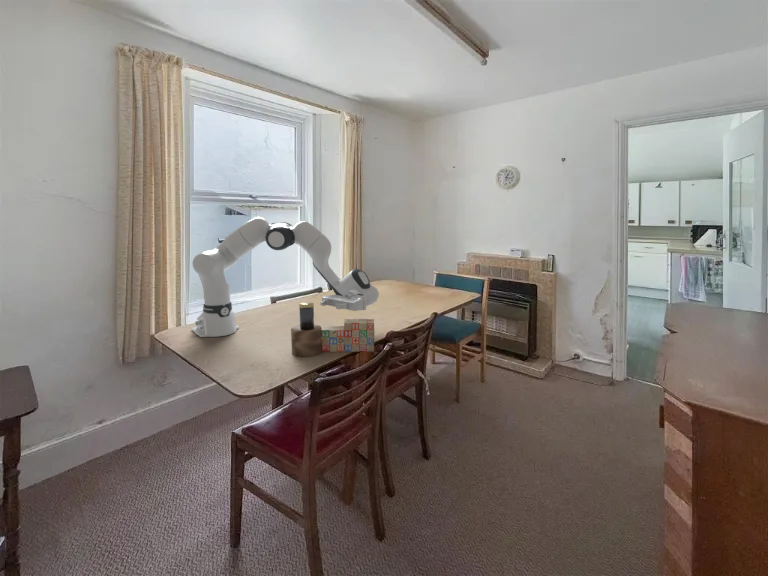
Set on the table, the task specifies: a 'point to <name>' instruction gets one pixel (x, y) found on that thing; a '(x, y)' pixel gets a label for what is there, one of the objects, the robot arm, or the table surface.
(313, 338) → the brown wooden cylinder
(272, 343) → the table surface
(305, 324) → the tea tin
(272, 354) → the table surface
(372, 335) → the stack of blocks
